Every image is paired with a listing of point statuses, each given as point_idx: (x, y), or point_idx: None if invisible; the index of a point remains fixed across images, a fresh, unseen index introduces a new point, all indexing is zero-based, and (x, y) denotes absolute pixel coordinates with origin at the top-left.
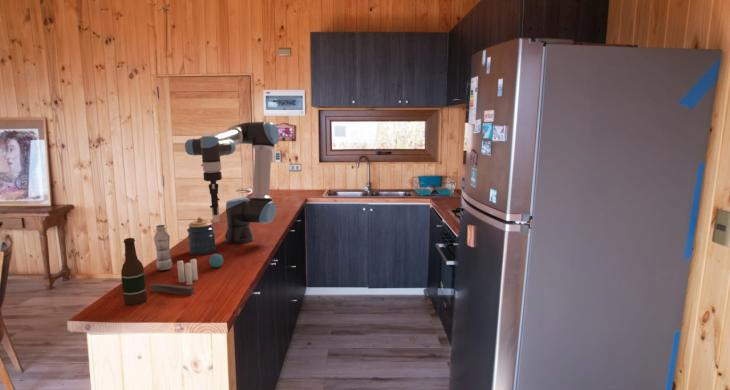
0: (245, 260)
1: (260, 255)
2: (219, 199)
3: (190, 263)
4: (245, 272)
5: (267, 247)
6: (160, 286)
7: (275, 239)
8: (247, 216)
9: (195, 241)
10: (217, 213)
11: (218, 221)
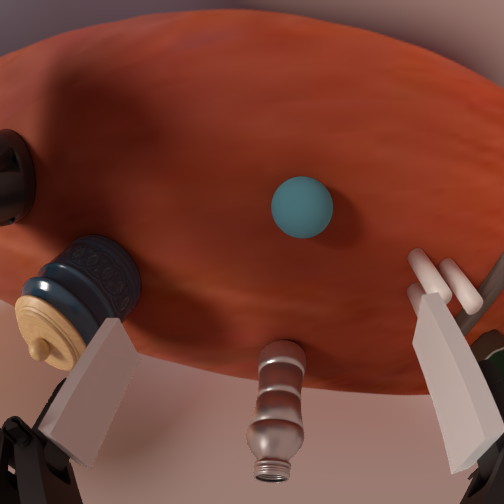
0: (232, 85)
1: (170, 35)
2: (15, 427)
3: (475, 297)
4: (400, 80)
5: (74, 42)
6: (470, 328)
7: (6, 55)
8: None
9: (120, 317)
10: (470, 371)
11: (437, 303)
